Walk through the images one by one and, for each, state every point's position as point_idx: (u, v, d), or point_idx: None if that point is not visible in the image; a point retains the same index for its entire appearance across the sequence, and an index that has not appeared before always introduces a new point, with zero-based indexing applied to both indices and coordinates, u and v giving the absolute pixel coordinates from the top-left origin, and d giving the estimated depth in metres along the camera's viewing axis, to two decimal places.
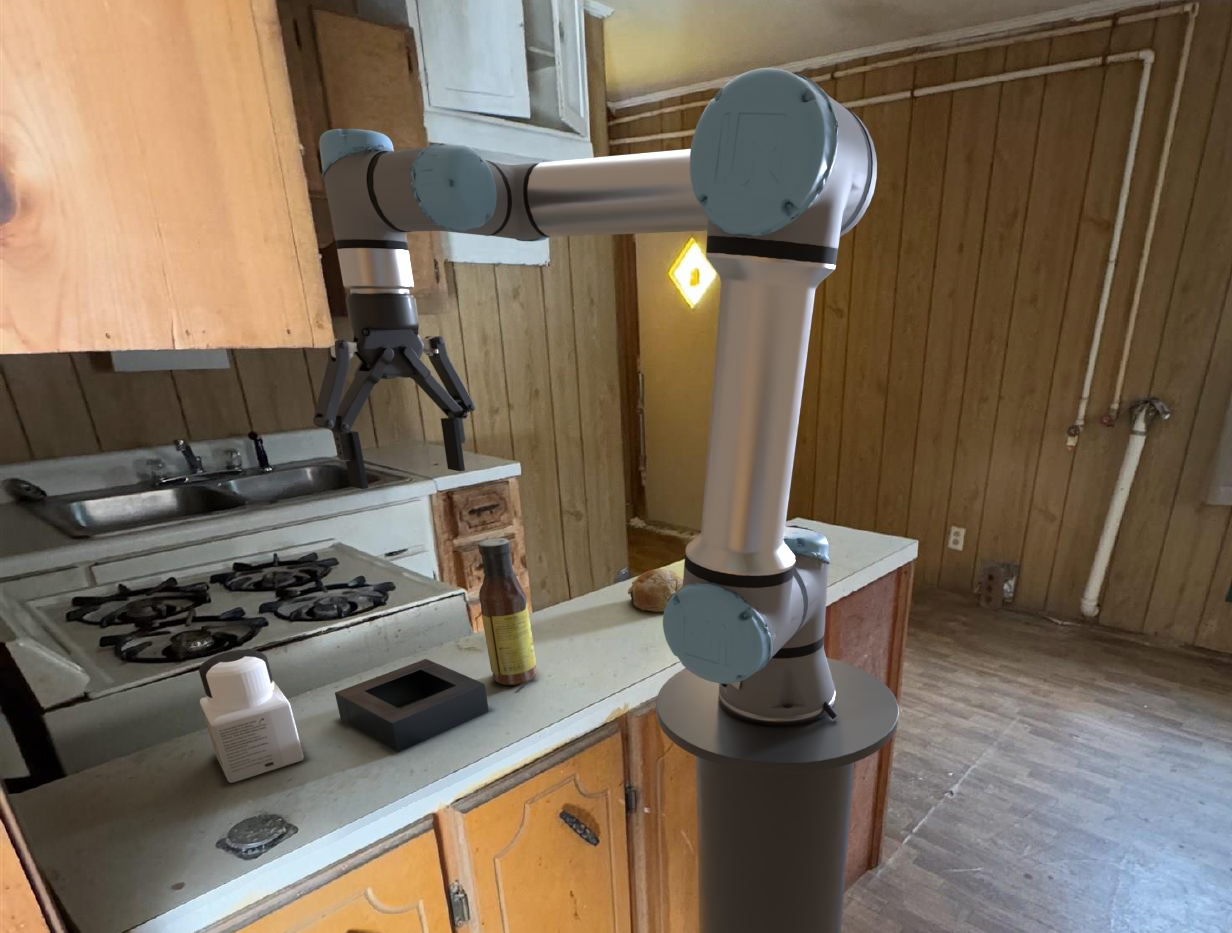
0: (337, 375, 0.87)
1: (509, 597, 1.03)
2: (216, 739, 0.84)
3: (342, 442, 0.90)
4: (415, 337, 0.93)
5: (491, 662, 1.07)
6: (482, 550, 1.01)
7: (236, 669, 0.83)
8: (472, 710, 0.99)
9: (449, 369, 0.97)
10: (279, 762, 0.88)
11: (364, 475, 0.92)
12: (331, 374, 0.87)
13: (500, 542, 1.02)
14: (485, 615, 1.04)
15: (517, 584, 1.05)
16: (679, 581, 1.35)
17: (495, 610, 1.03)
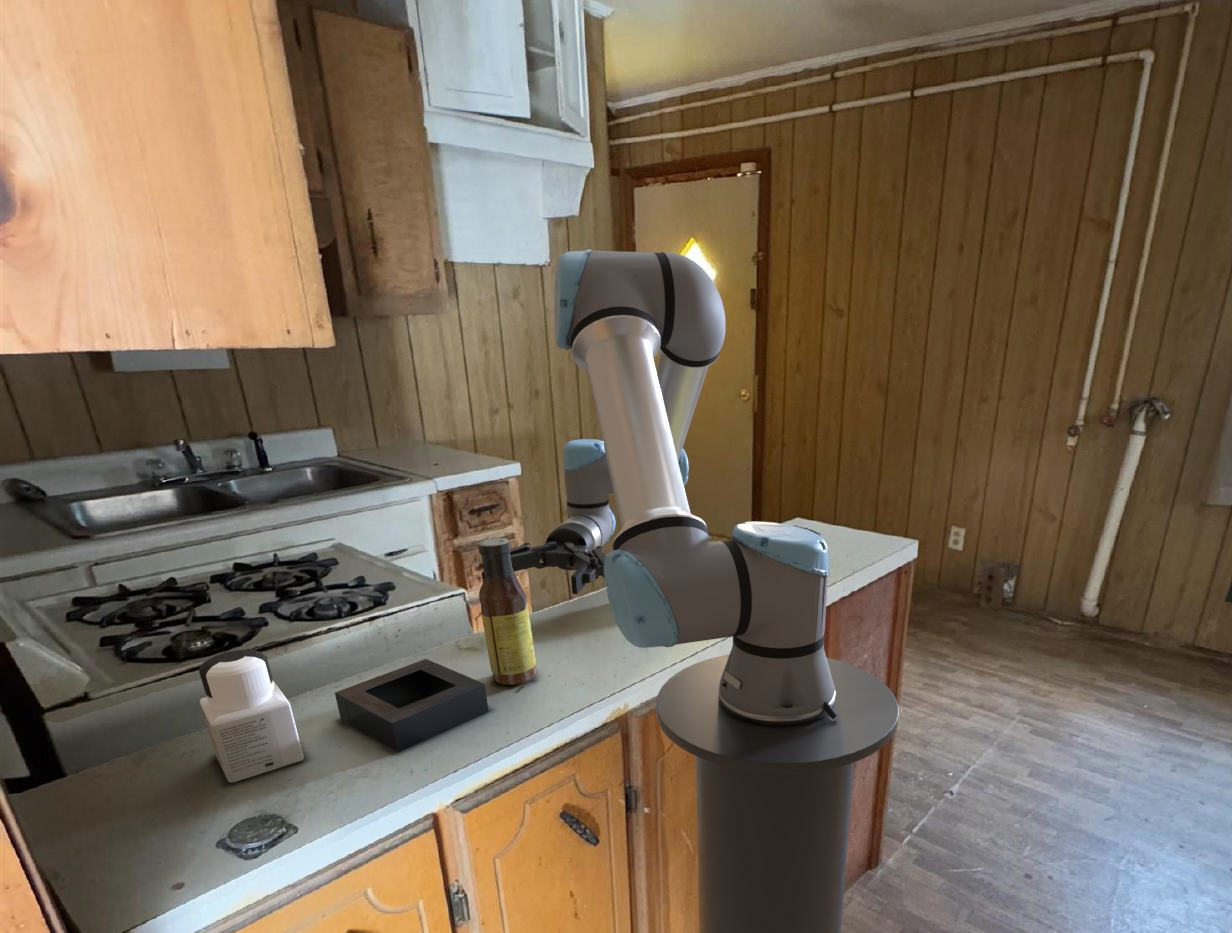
0: (512, 549, 1.26)
1: (509, 597, 1.03)
2: (216, 739, 0.84)
3: None
4: (581, 545, 1.28)
5: (491, 662, 1.07)
6: (482, 550, 1.01)
7: (236, 669, 0.83)
8: (472, 710, 0.99)
9: (598, 552, 1.24)
10: (279, 762, 0.88)
11: None
12: None
13: (500, 542, 1.02)
14: (485, 615, 1.04)
15: (517, 584, 1.05)
16: None
17: (495, 610, 1.03)
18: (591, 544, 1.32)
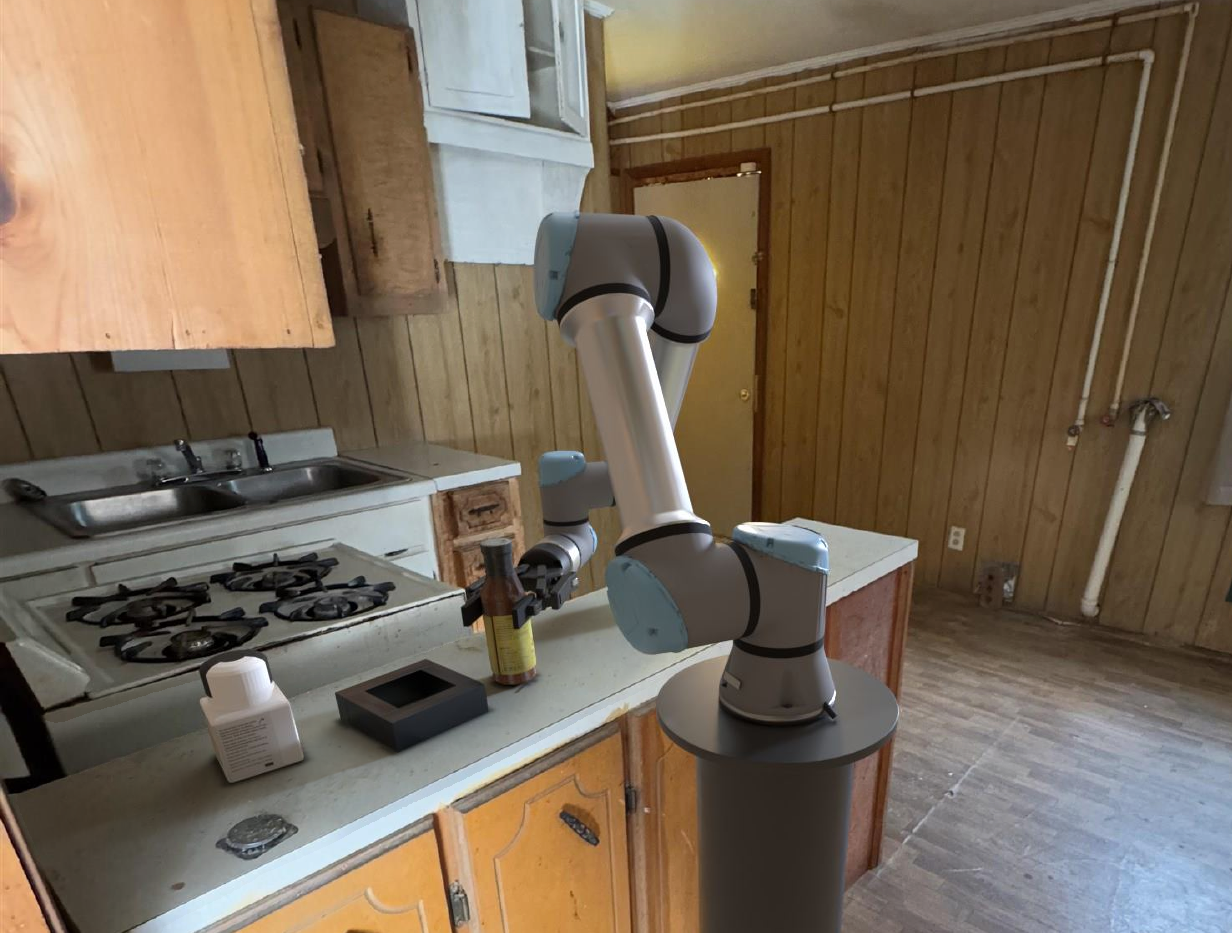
0: (484, 576, 1.14)
1: (510, 597, 1.03)
2: (216, 739, 0.84)
3: (471, 597, 1.07)
4: (556, 568, 1.17)
5: (491, 662, 1.07)
6: (484, 550, 1.01)
7: (236, 669, 0.83)
8: (472, 710, 0.99)
9: (562, 579, 1.12)
10: (279, 762, 0.88)
11: (469, 603, 1.03)
12: None
13: (502, 542, 1.02)
14: (485, 615, 1.04)
15: (518, 584, 1.05)
16: None
17: (496, 610, 1.03)
18: (568, 566, 1.20)
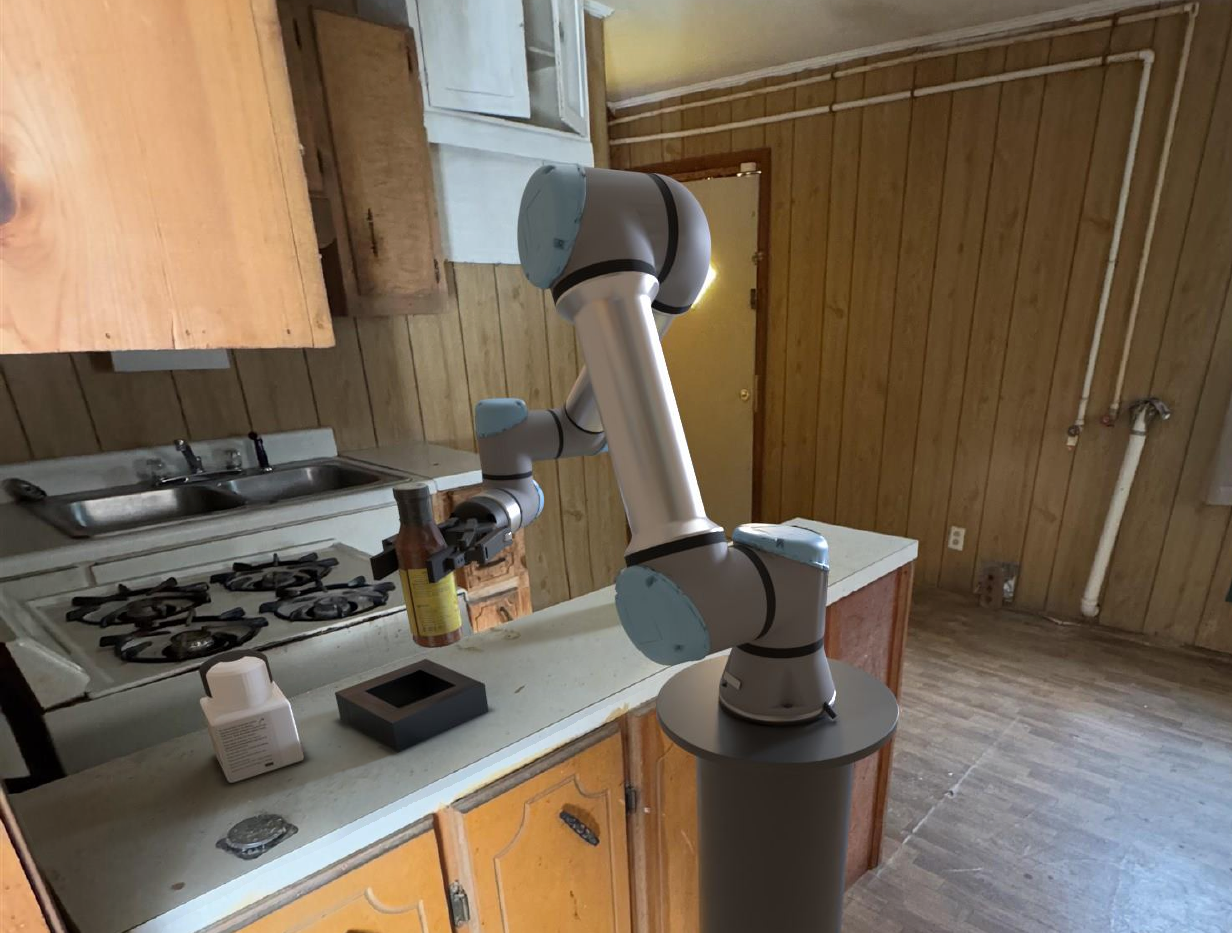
0: None
1: (427, 548, 0.92)
2: (216, 739, 0.84)
3: None
4: (489, 523, 1.06)
5: (410, 622, 0.97)
6: (396, 494, 0.91)
7: (236, 669, 0.83)
8: (472, 710, 0.99)
9: (492, 533, 1.01)
10: (279, 762, 0.88)
11: (380, 554, 0.92)
12: None
13: (417, 486, 0.91)
14: (400, 569, 0.94)
15: (437, 534, 0.94)
16: None
17: (411, 562, 0.93)
18: (504, 522, 1.10)
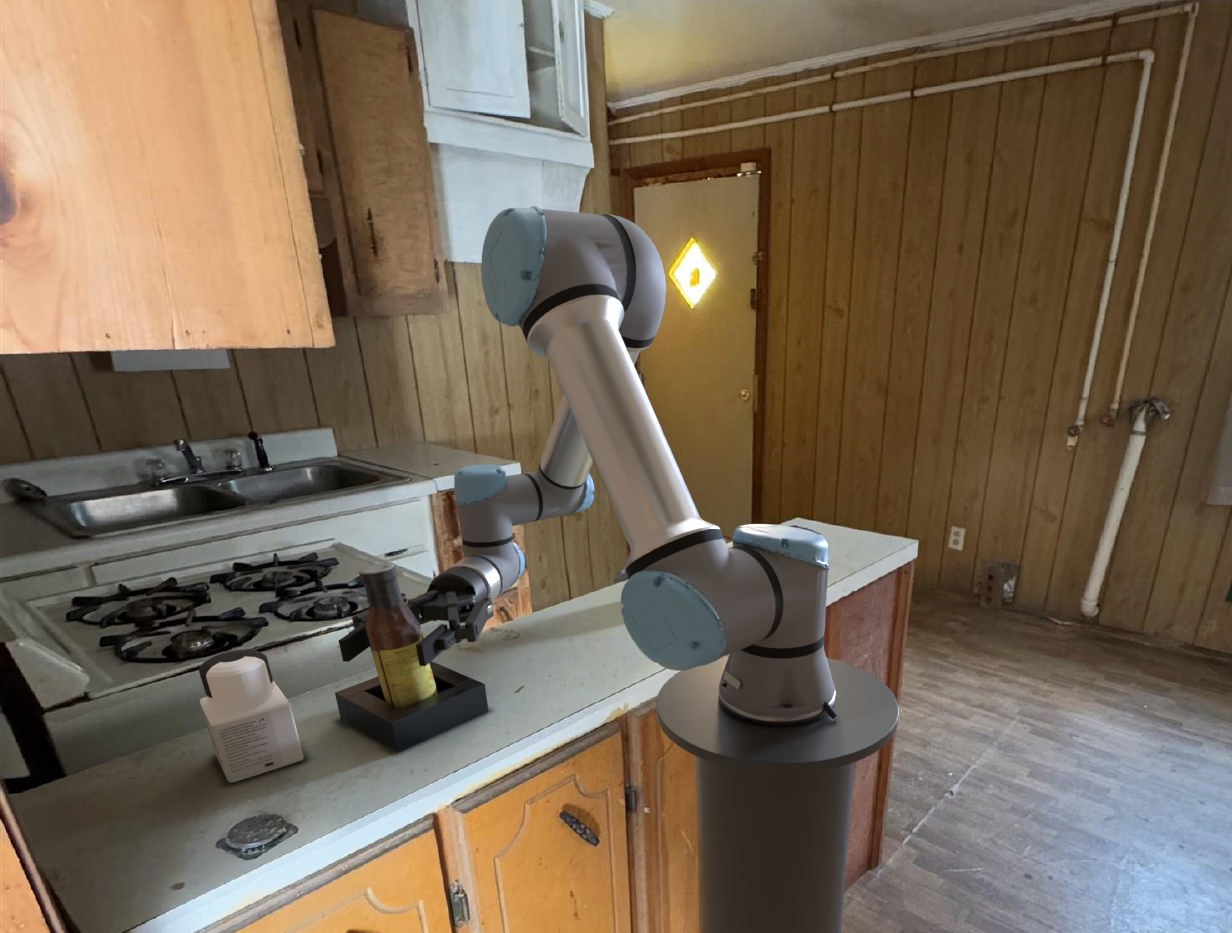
0: None
1: (397, 629, 0.93)
2: (216, 739, 0.84)
3: (357, 628, 0.97)
4: (468, 595, 1.07)
5: (386, 700, 0.97)
6: (362, 578, 0.91)
7: (236, 669, 0.83)
8: (472, 710, 0.99)
9: (476, 607, 1.02)
10: (279, 762, 0.88)
11: (349, 635, 0.93)
12: None
13: (383, 568, 0.92)
14: (372, 650, 0.94)
15: (407, 613, 0.94)
16: None
17: (382, 643, 0.93)
18: (483, 592, 1.10)
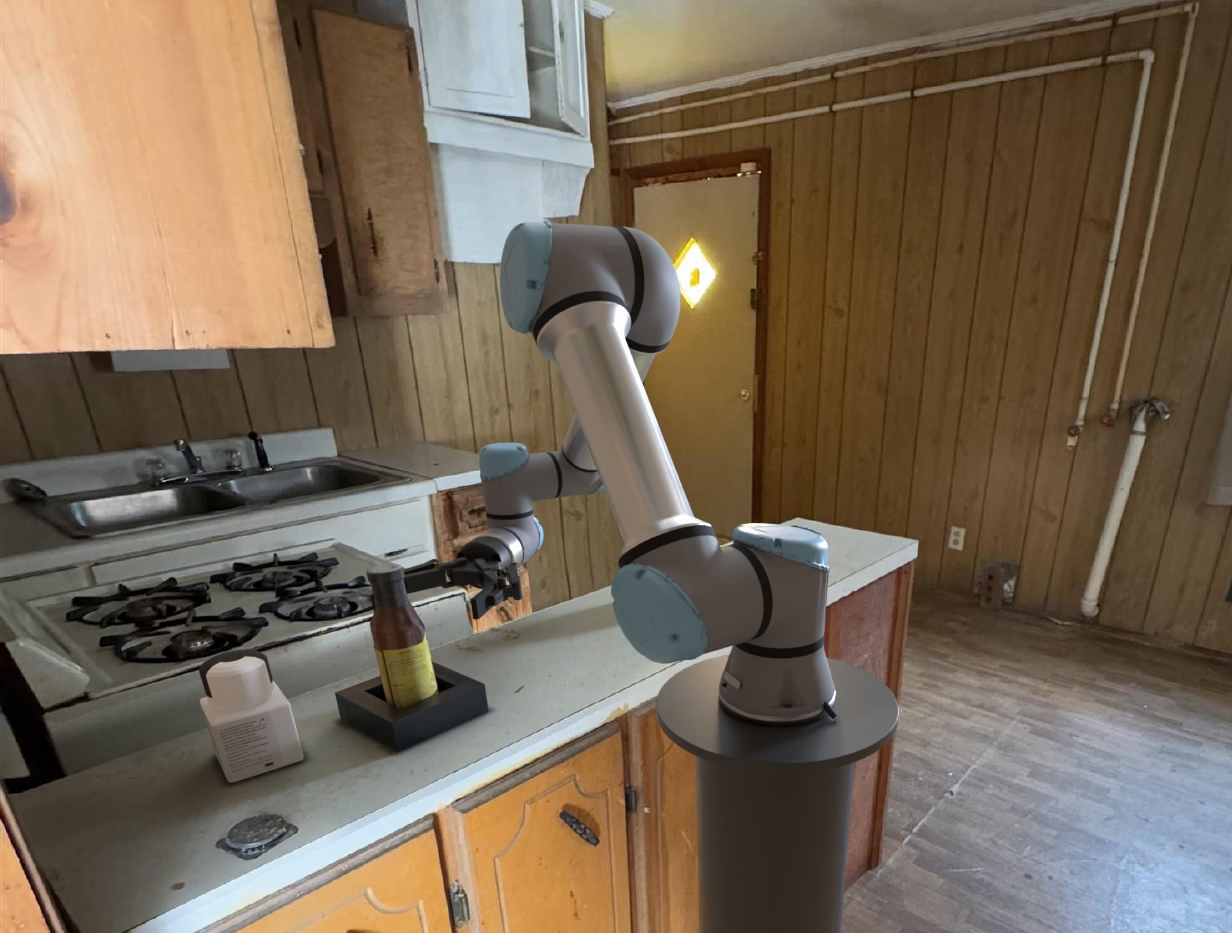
0: (415, 566, 1.13)
1: (402, 629, 0.93)
2: (216, 739, 0.84)
3: None
4: (494, 562, 1.15)
5: (387, 700, 0.97)
6: (370, 578, 0.91)
7: (236, 669, 0.83)
8: (472, 710, 0.99)
9: (511, 570, 1.11)
10: (279, 762, 0.88)
11: None
12: None
13: (391, 568, 0.92)
14: (376, 649, 0.94)
15: (412, 614, 0.95)
16: None
17: (386, 643, 0.93)
18: (508, 560, 1.18)
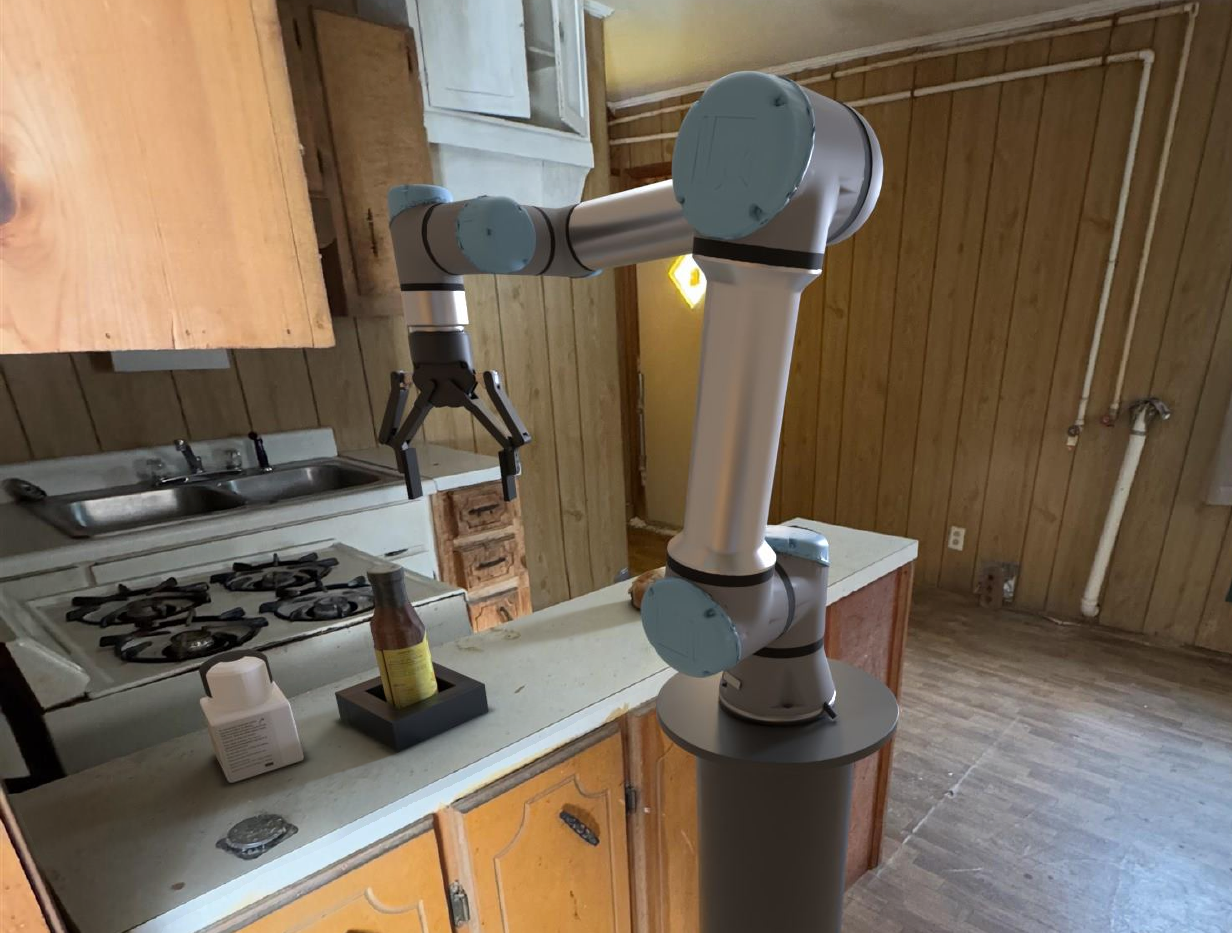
0: (389, 401, 1.01)
1: (402, 629, 0.93)
2: (216, 739, 0.84)
3: (397, 457, 1.04)
4: (463, 371, 0.98)
5: (387, 700, 0.97)
6: (370, 578, 0.91)
7: (236, 669, 0.83)
8: (472, 710, 0.99)
9: (496, 403, 0.99)
10: (279, 762, 0.88)
11: (410, 488, 1.05)
12: None
13: (391, 568, 0.92)
14: (376, 649, 0.94)
15: (412, 614, 0.95)
16: None
17: (386, 643, 0.93)
18: (467, 343, 0.97)
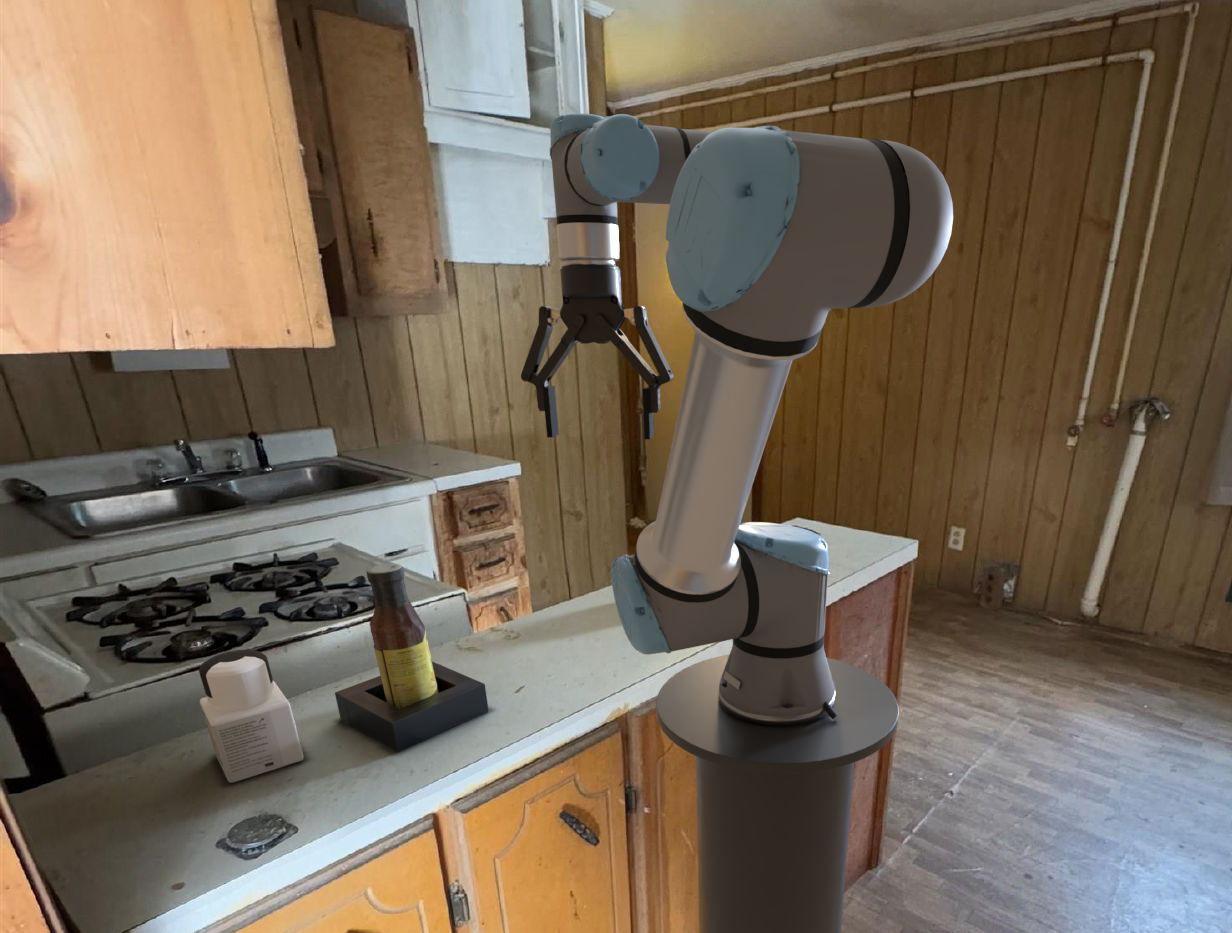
0: (536, 337, 1.02)
1: (402, 629, 0.93)
2: (216, 739, 0.84)
3: (538, 395, 1.05)
4: (613, 306, 0.99)
5: (387, 700, 0.97)
6: (370, 578, 0.91)
7: (236, 669, 0.83)
8: (472, 710, 0.99)
9: (645, 338, 1.00)
10: (279, 762, 0.88)
11: (549, 426, 1.06)
12: None
13: (391, 568, 0.92)
14: (376, 649, 0.94)
15: (412, 614, 0.95)
16: None
17: (386, 643, 0.93)
18: (618, 278, 0.98)
